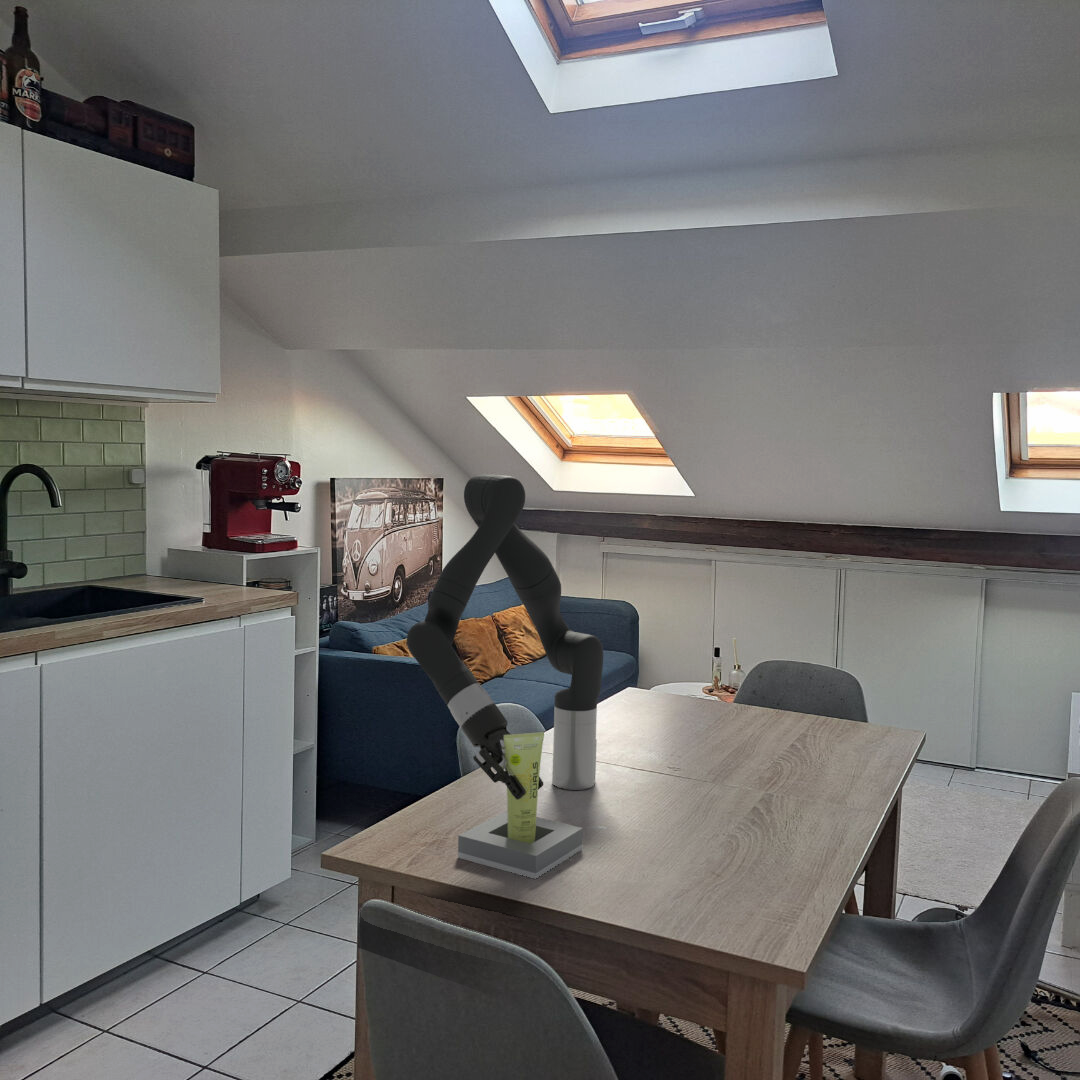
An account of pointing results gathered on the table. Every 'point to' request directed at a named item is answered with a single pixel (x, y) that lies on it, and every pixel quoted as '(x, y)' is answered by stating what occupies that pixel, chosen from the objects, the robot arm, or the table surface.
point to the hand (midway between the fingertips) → (530, 791)
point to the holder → (520, 846)
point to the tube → (523, 783)
